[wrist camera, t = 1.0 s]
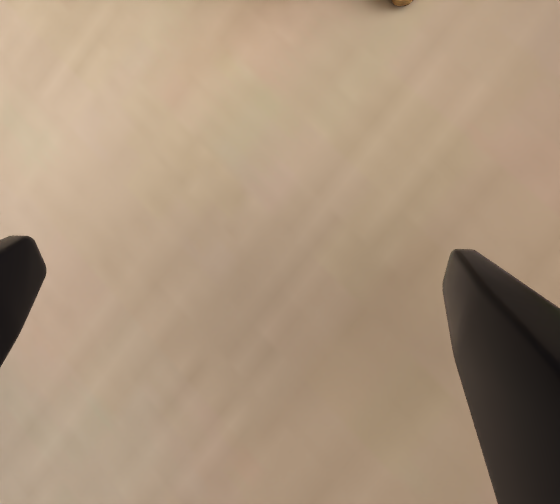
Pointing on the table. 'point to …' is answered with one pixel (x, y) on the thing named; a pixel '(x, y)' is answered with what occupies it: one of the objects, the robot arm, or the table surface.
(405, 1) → the stuffed squirrel
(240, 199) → the table surface
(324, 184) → the table surface
